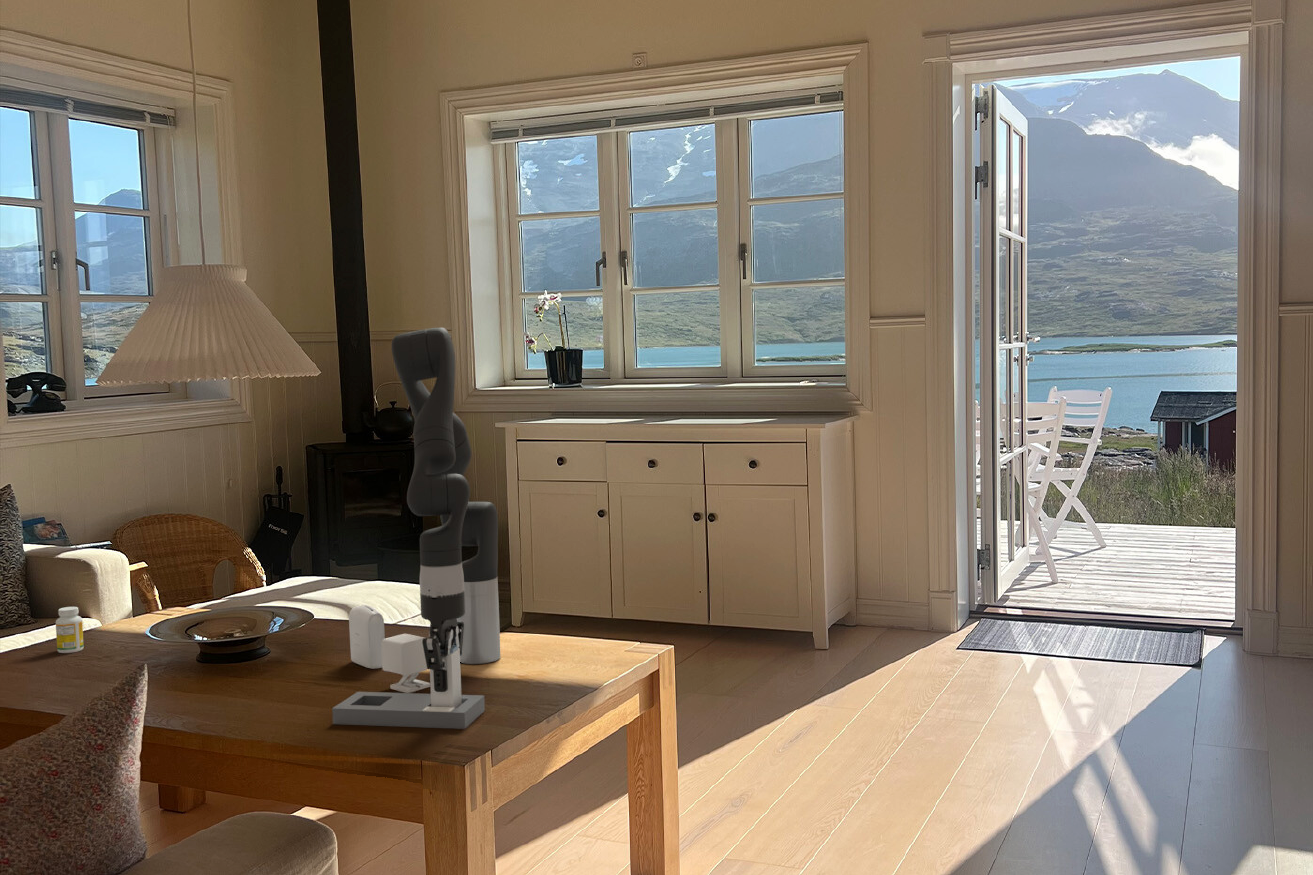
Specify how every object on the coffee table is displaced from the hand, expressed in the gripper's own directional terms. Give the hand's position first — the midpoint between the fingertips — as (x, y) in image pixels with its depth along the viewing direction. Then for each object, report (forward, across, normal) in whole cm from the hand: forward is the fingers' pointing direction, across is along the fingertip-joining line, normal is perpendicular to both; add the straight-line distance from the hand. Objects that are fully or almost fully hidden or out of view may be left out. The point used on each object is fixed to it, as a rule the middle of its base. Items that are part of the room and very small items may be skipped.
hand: (445, 686), depth 199 cm
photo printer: (+6, -35, -31) cm, 47 cm away
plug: (+4, 0, 0) cm, 4 cm away
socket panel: (+6, 0, -7) cm, 9 cm away
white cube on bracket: (+6, -18, -15) cm, 24 cm away
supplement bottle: (+6, -40, -105) cm, 113 cm away
